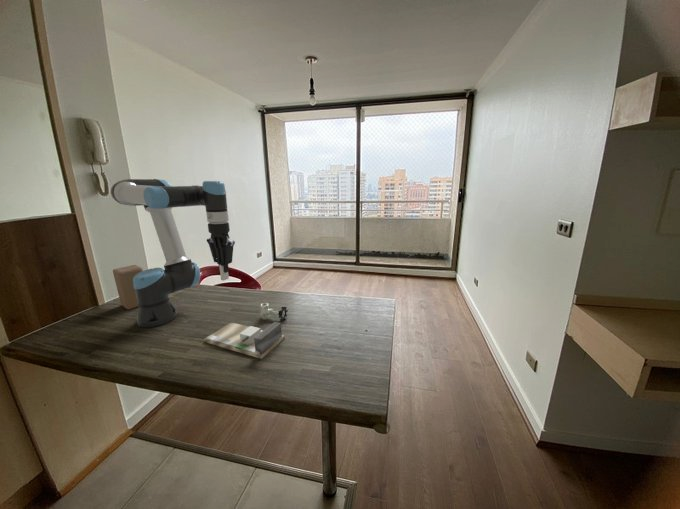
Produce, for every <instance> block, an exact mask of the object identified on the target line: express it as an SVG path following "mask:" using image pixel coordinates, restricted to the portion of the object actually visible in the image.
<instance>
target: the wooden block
mask: <svg viewBox="0 0 680 509" xmlns="http://www.w3.org/2000/svg"><path fill="white" fill-rule="evenodd" d="M142 271H144V270H143V268H142V267H140V266H139V265H136V264H133V265H127V266H123V267H122V266H121V267H118V268H114V269H112V273H113V278H114V282H115V285H116V290H117V292H118V293H117V294H118V297H119V301H120V305H121V306H122V307H124V308H125V309H126V310H132V309H134V308H139V306H138V301H137V297H136V293H135V289H134V287H133V286H134V284H133V278H134V276H135V275H136V274H138V273H140V272H142Z"/></svg>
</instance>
